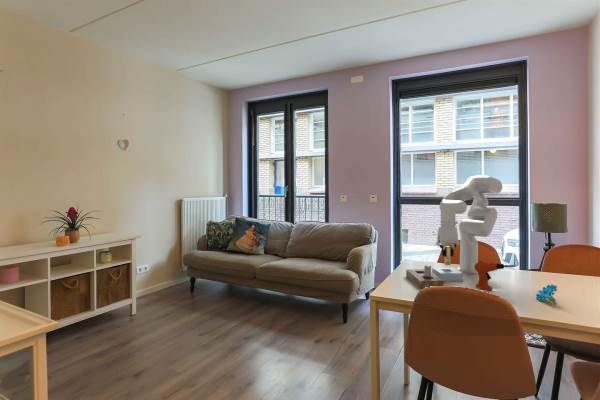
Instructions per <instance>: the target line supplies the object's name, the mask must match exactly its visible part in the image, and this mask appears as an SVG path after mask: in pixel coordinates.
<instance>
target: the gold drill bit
mask: <svg viewBox="0 0 600 400" xmlns="http://www.w3.org/2000/svg"><path fill="white" fill-rule="evenodd" d="M445 250H446V257H444V265H445V266H451V264H452V263H451V262H452V257H451V247H450V245H446V247H445Z"/></svg>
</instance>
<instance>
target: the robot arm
mask: <svg viewBox="0 0 600 400" xmlns="http://www.w3.org/2000/svg"><path fill="white" fill-rule="evenodd" d="M502 190H503V183H502V181H501V180H500V179H498V178H496V177H495V178H494V177H493V176H491V175H473V176H470V177H469V178H467V180H466V181H465V182H464V183H463V185H462V186H461V187H460V188H458V189H456V190H454V191H451V192H449V193H447V194H446V195H445V196H444V197H443V198H442V199H441V201H440V203H439V211H440V225H439V226H438V230H437V238H436V243H435V246H438V247H439V248H440V249H441V255H442V257H444V258H445V257H446V250H445V247H446V246H447V245H449V246H450V247H451V258H452V257H454V252H455V248H456V247H458V246H459V245H460V247H459V249H460V250H459V251H460V252H459V266H458V267H457V268H456V270H458V271H460V272H462V273H471V274H473V273H474V274H476V275H477V274H478V272H477V271H476V270H475V268H474V266H475V264H476V263H478V262H479V261H478V259H479V258H478V257H479V254H478V253H479V242H478V240H477V238H476V237H480V238H488V237H489V236H490V235H491V233H492V231H493V229H494V228H495V224H496V223H497V219H498V211H497V209H496V208H495V207H493V206H488V205H489V200H488V198H487V196H485V194H489V195H492V194H494V195H495V194H496V195H497V194H500V193H501V192H502ZM472 198H473V201H472V204H471V206H470V207H469V210H468V212H467V218H466V219H462V220H461V221H460V222H458V221H457V220H456V215H457V214H458V215H461V214H464V213H465V212H466V211H467V209H468V205H467V203H466V202H465V201H468V200H471V199H472ZM458 223H459V225H458V228H457V226H456V225H457V224H458ZM458 229H459V233H458ZM458 235H459V236H458ZM459 238H460V240H459ZM478 275H479V274H478Z"/></svg>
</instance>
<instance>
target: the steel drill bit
mask: <svg viewBox="0 0 600 400" xmlns="http://www.w3.org/2000/svg"><path fill="white" fill-rule="evenodd" d="M431 272H432V265H429V264H427V265H424V279H431Z"/></svg>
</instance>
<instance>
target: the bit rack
mask: <svg viewBox="0 0 600 400" xmlns="http://www.w3.org/2000/svg"><path fill="white" fill-rule="evenodd" d="M405 274H406V275H405V277H406V278H407V279H408V280H409V281H411V283H413V284H414V285H415V286H417V288H419V289H420V290H424V289H423V288H425V287H430V286H444V287H445V281H444V280H442V279H441V278H439V277H438V276H436V275H435V274H433V273H432V271H431V279H424V269H422V268H420V269H419V268H417V269H415V268H413V269H411V268H409V269H406V271H405Z"/></svg>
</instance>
